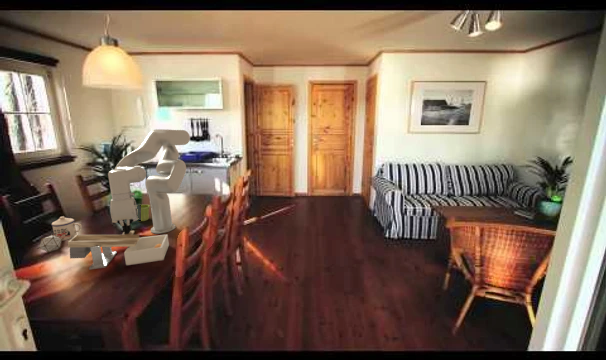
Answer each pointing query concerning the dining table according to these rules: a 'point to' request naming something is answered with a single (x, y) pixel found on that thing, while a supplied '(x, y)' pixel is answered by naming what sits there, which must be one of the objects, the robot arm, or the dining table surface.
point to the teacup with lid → (65, 228)
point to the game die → (50, 243)
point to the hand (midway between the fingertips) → (127, 232)
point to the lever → (99, 243)
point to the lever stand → (101, 256)
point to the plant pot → (144, 212)
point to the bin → (147, 250)
